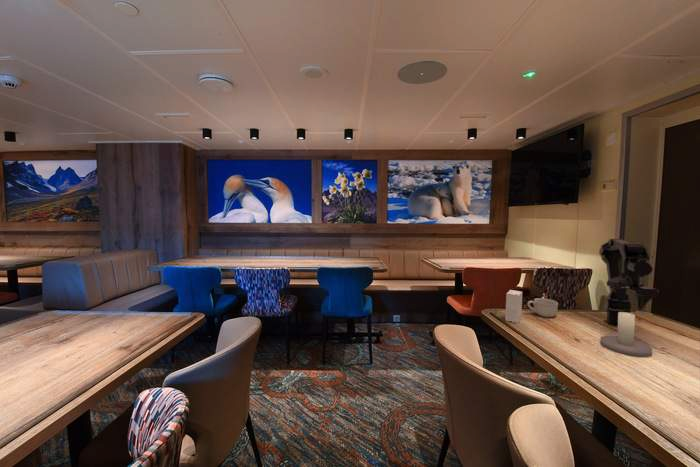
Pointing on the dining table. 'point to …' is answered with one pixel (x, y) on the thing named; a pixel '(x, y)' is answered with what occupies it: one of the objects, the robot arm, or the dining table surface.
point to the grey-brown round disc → (626, 347)
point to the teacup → (544, 307)
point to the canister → (626, 328)
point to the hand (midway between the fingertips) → (630, 306)
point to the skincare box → (513, 306)
